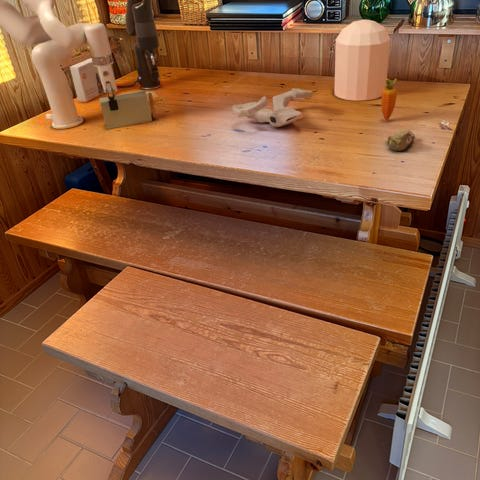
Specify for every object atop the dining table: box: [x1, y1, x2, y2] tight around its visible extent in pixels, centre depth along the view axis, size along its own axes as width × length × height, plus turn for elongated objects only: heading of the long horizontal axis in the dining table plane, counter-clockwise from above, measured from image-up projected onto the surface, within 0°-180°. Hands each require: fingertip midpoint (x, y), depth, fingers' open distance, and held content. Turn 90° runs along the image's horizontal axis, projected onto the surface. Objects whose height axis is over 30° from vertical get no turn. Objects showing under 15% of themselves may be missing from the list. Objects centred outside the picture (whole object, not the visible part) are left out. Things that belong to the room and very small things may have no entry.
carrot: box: [380, 78, 398, 122], centre depth 161 cm, size 5×5×15 cm
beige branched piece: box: [231, 88, 314, 128], centre depth 171 cm, size 28×26×12 cm
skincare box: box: [69, 57, 106, 103], centre depth 218 cm, size 21×6×16 cm, turn 158°
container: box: [333, 19, 391, 102], centre depth 186 cm, size 21×21×28 cm
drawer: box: [147, 92, 168, 119], centre depth 185 cm, size 22×5×9 cm, turn 106°
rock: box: [387, 129, 416, 152], centre depth 146 cm, size 11×6×10 cm
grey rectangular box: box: [98, 90, 153, 130], centre depth 184 cm, size 18×6×11 cm, turn 106°
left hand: (114, 107), depth 182 cm, fingers closed on grey rectangular box, 6 cm apart
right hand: (155, 81), depth 181 cm, fingers closed
